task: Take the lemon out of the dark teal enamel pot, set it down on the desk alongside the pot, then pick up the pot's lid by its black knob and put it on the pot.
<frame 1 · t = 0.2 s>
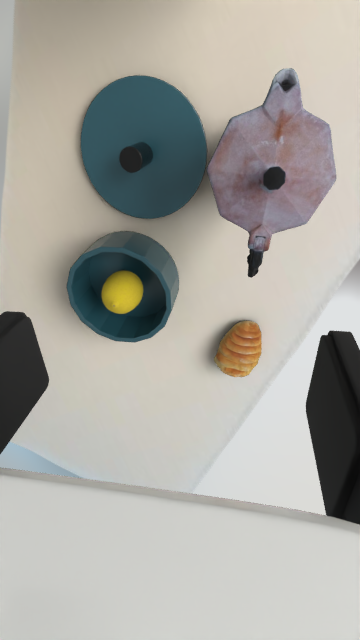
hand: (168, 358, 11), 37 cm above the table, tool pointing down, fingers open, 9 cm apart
moka pot: (260, 160, 41), on the table
lemon: (131, 278, 51), resting on pot
lid: (143, 153, 42), point 1 cm above the table
pot: (131, 278, 52), on the table
pastry: (238, 344, 55), on the table
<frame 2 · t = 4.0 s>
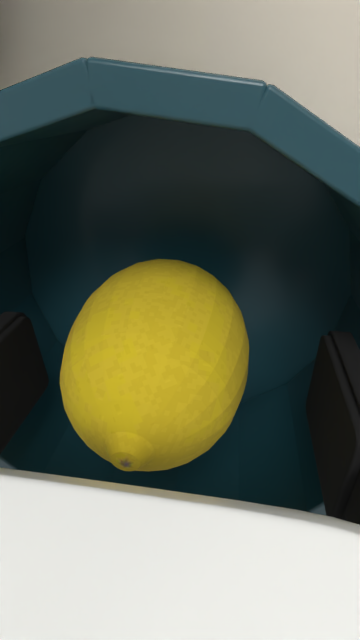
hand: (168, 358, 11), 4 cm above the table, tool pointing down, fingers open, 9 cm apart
lemon: (180, 290, 14), resting on pot
pot: (180, 288, 15), on the table
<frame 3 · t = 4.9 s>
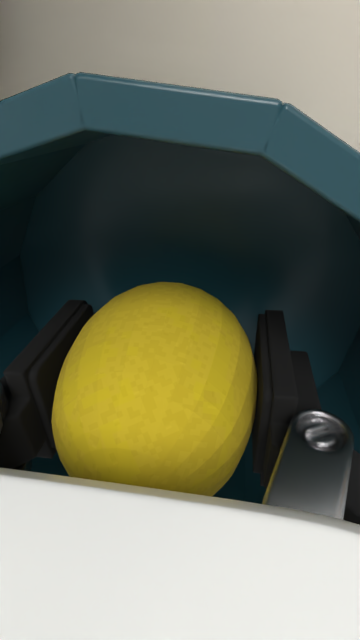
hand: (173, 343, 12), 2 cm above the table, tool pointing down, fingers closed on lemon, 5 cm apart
lemon: (182, 310, 14), resting on pot, touching gripper
pot: (183, 308, 14), on the table
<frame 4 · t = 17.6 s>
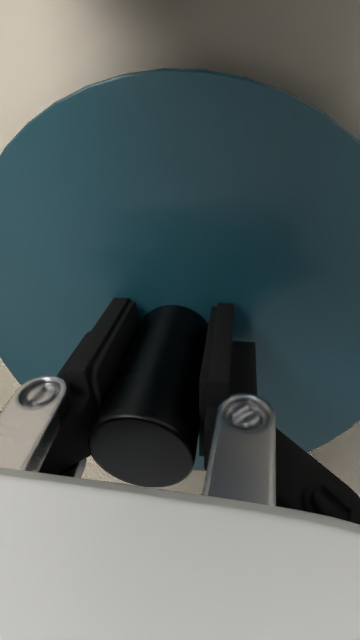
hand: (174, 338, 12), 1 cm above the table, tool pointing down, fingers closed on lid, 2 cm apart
lid: (178, 326, 13), point 1 cm above the table, touching gripper
when the fingers open (7 cm above the table, at t = 23.5 s): lid stays where it is, resting on pot.
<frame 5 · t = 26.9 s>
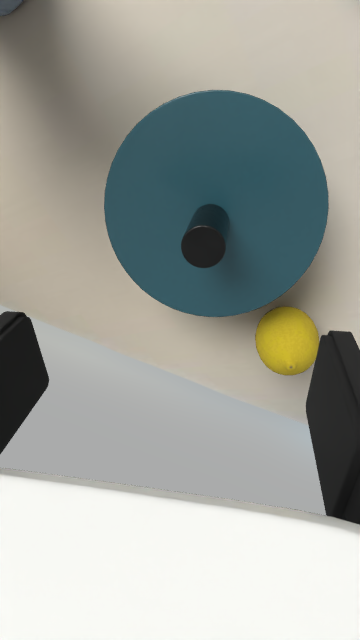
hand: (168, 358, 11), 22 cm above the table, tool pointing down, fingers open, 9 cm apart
lemon: (282, 315, 35), on the table
lid: (211, 220, 24), point 6 cm above the table, touching pot
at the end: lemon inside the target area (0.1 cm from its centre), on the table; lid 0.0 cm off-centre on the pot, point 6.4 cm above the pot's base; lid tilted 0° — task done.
